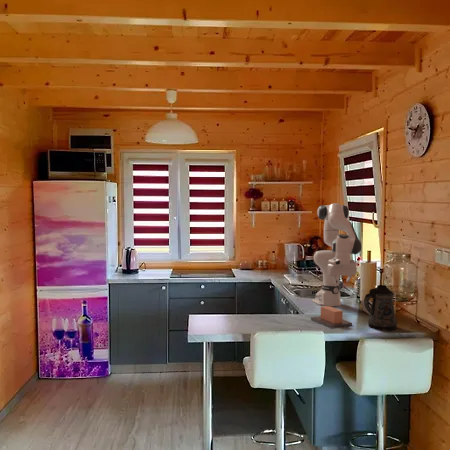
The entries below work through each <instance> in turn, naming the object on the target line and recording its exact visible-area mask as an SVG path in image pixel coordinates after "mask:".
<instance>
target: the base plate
mask: <svg viewBox="0 0 450 450" xmlns="http://www.w3.org/2000/svg"><path fill="white" fill-rule="evenodd" d="M320 317H321V315H320V316H312V317H310V321H313V322H315V321H316V323H317V322H318V324H320V325H322V324H323V325H322V326H324V325H325V327H327V326H328V328H329V327H335V328H341V326H343V327H350V326H351V327H352V326H353V323H352V322H350V321H348V320H346V319H344V318H342V323H332V322H329V321H327V320H325V319H322V318H320Z"/></svg>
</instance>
